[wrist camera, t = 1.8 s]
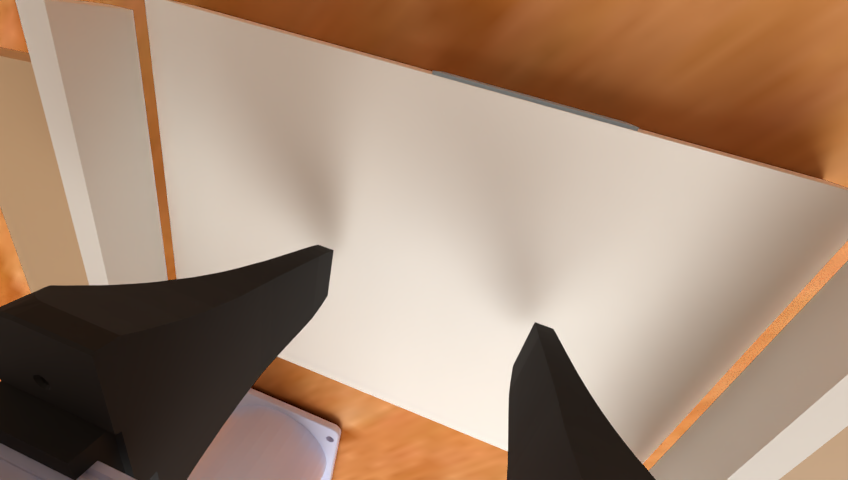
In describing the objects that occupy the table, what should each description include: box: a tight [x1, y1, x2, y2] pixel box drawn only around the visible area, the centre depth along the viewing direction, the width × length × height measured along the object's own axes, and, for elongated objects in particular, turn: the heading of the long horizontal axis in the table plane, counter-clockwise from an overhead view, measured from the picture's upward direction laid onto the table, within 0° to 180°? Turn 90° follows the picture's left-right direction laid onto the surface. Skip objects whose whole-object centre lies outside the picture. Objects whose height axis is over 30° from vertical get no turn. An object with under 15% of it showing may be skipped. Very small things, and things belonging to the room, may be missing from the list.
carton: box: [145, 0, 848, 464], centre depth 14 cm, size 14×22×2 cm, turn 76°
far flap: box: [0, 0, 168, 293], centre depth 13 cm, size 13×4×2 cm
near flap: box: [649, 261, 848, 480], centre depth 10 cm, size 13×4×2 cm
